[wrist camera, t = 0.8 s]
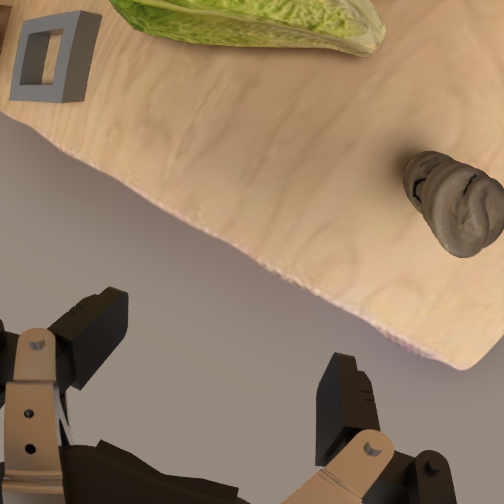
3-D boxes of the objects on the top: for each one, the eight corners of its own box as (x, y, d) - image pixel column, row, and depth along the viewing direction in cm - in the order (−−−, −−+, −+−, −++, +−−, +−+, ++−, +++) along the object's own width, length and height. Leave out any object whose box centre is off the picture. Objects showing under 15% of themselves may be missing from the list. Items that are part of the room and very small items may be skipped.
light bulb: (398, 206, 29) (453, 283, 16) (376, 156, 27) (429, 199, 14) (445, 184, 27) (525, 245, 13) (425, 133, 25) (509, 160, 12)
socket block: (44, 23, 26) (23, 21, 22) (102, 16, 25) (80, 10, 21) (30, 97, 31) (9, 100, 27) (83, 101, 30) (61, 103, 26)
